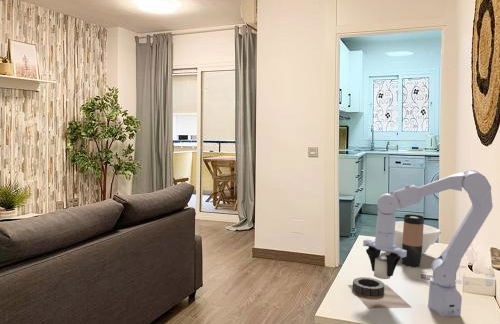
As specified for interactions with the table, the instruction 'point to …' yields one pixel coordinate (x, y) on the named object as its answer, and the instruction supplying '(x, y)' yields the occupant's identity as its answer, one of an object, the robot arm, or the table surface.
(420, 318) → the table surface
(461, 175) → the robot arm
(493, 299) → the table surface
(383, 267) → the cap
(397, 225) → the bowl
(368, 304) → the socket board
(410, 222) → the travel mug
